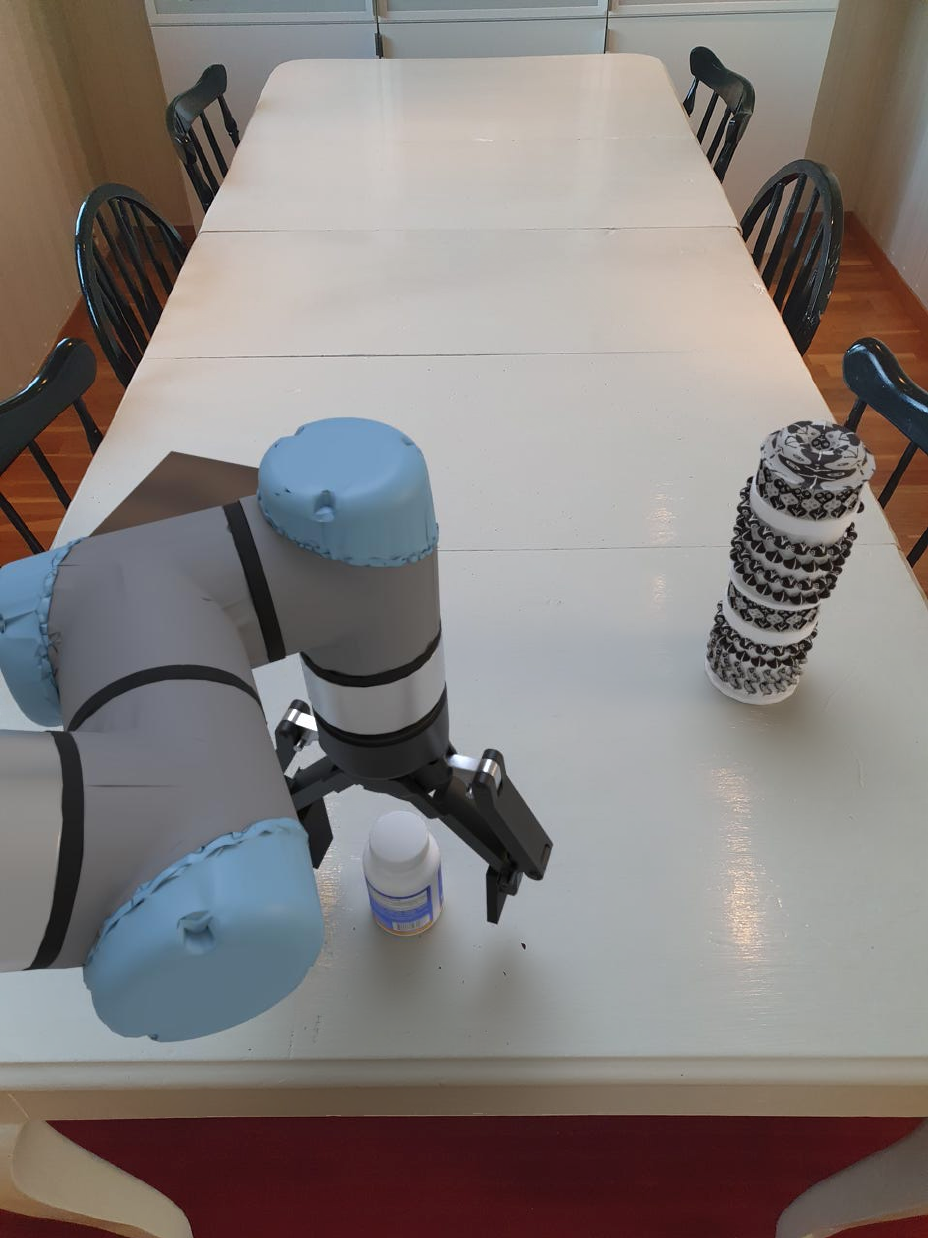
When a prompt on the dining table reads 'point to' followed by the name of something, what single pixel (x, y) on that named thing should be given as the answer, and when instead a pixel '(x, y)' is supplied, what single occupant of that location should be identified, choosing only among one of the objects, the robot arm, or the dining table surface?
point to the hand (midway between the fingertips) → (407, 878)
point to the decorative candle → (786, 557)
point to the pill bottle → (403, 874)
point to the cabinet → (181, 490)
